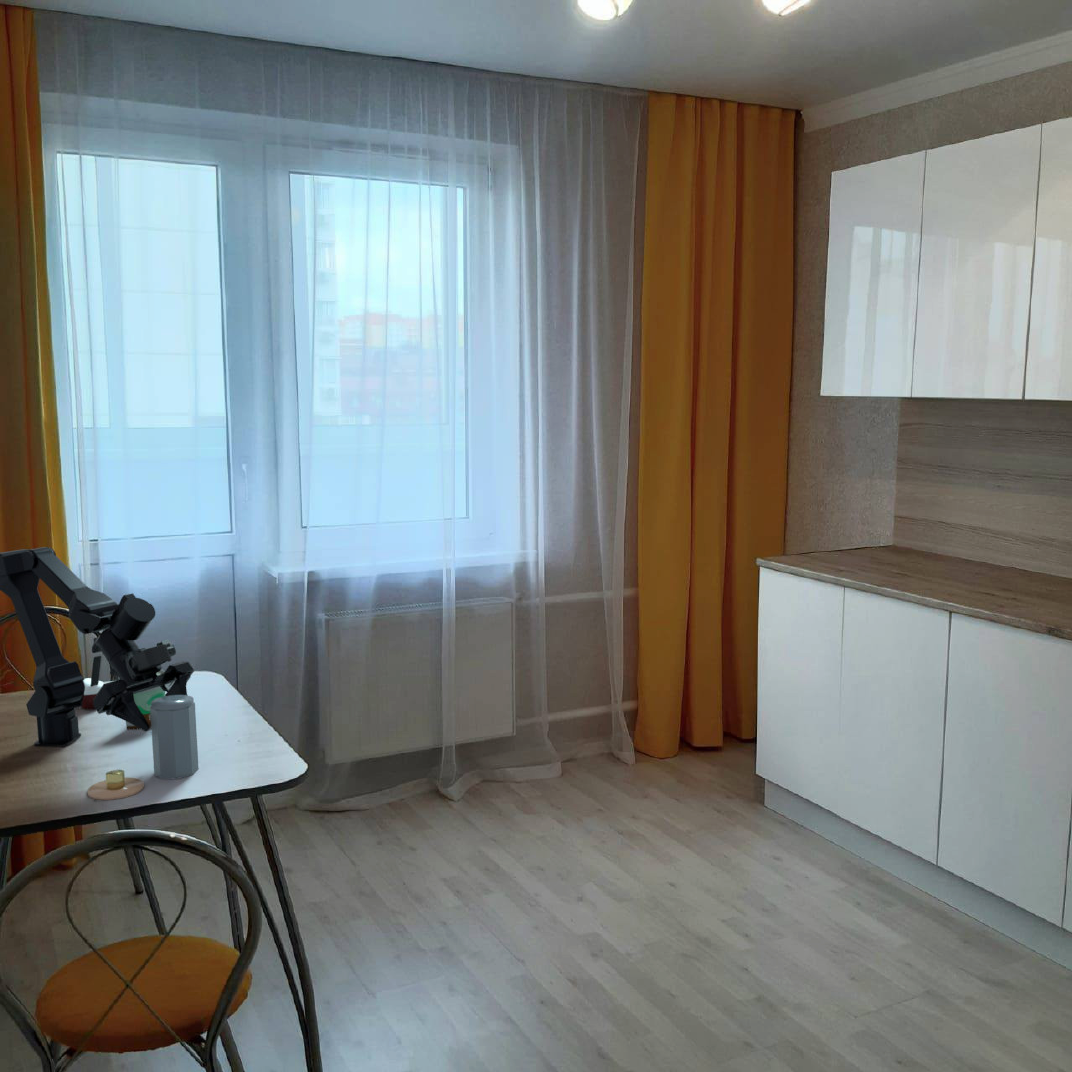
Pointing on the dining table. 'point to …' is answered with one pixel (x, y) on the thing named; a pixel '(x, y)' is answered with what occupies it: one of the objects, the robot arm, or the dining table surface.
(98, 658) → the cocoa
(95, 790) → the terracotta coaster
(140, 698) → the food container
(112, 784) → the cylinder
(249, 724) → the dining table surface
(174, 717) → the blue-gray container
